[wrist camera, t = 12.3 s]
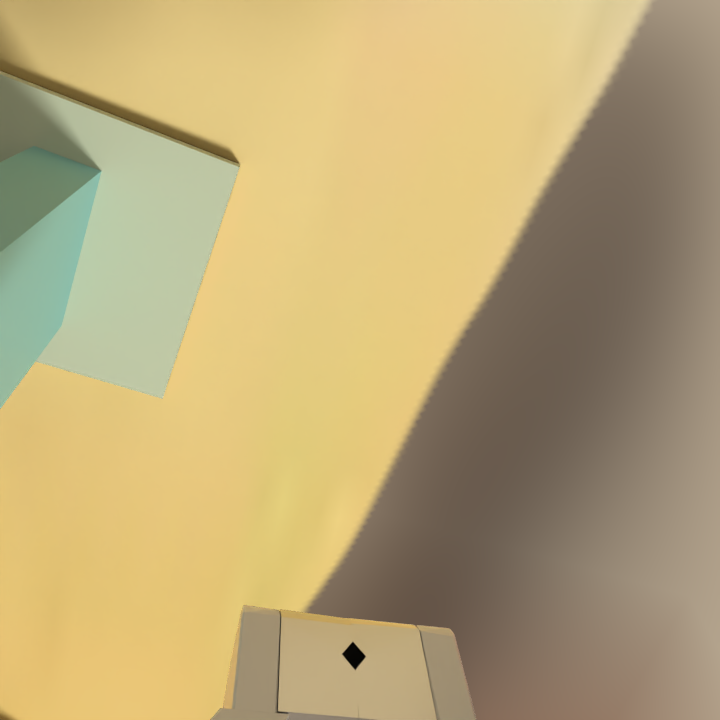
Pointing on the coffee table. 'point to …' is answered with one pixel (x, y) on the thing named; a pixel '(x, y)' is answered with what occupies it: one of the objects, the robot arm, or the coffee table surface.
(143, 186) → the runner mat
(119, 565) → the coffee table surface
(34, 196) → the domino
